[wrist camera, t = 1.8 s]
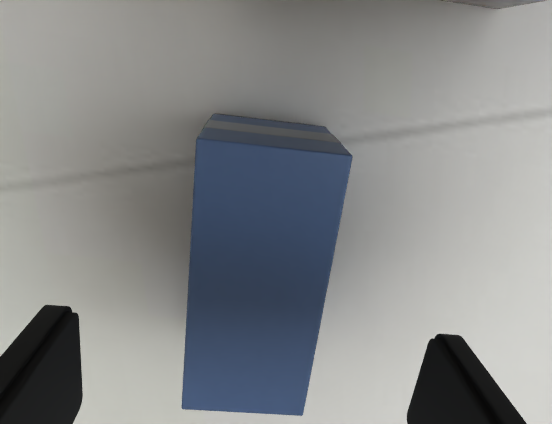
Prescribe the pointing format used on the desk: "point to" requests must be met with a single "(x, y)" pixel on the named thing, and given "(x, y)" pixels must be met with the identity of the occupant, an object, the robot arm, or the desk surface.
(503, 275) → the desk surface
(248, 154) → the block
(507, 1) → the walnut crate
